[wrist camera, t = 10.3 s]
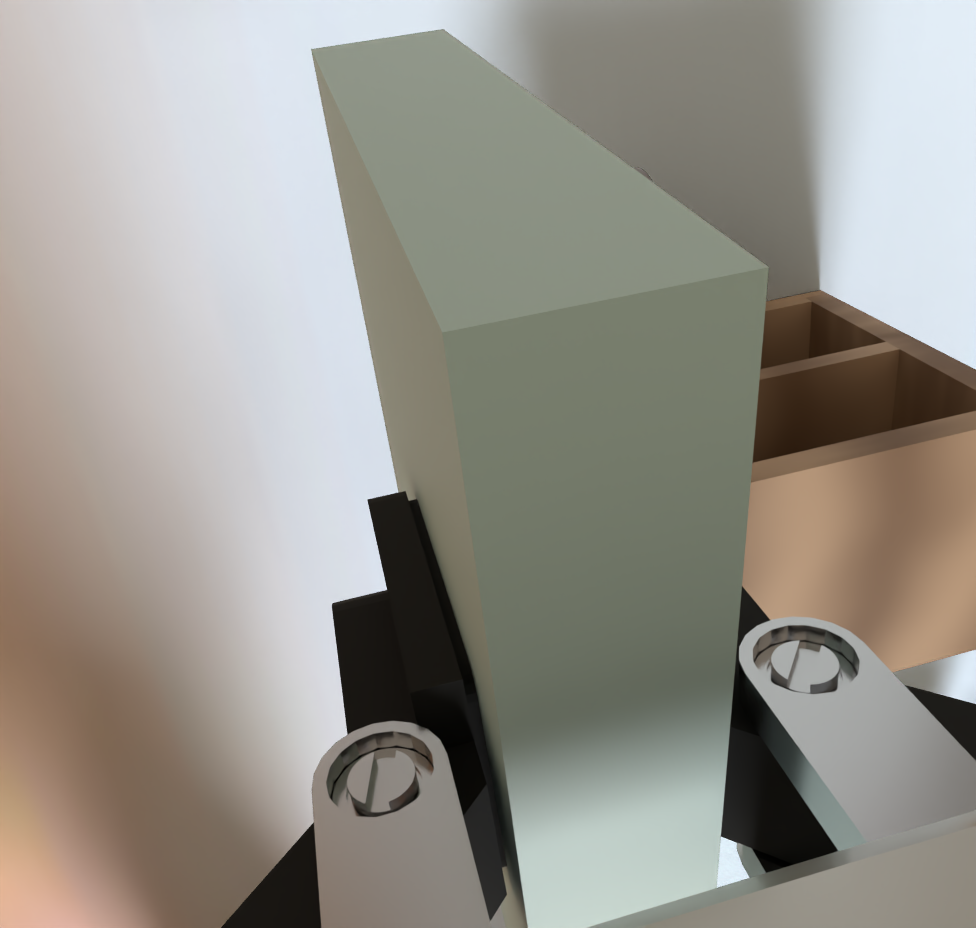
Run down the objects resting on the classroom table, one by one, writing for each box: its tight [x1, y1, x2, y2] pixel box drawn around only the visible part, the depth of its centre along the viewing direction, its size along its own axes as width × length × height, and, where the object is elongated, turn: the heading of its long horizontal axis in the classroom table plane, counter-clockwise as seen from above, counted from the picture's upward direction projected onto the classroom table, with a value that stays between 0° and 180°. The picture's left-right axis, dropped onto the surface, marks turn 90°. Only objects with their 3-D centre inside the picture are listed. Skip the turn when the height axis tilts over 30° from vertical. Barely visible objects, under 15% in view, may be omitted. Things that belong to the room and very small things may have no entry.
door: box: [311, 29, 769, 928], centre depth 14 cm, size 15×4×10 cm, turn 7°
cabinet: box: [742, 290, 976, 672], centre depth 33 cm, size 12×14×13 cm
